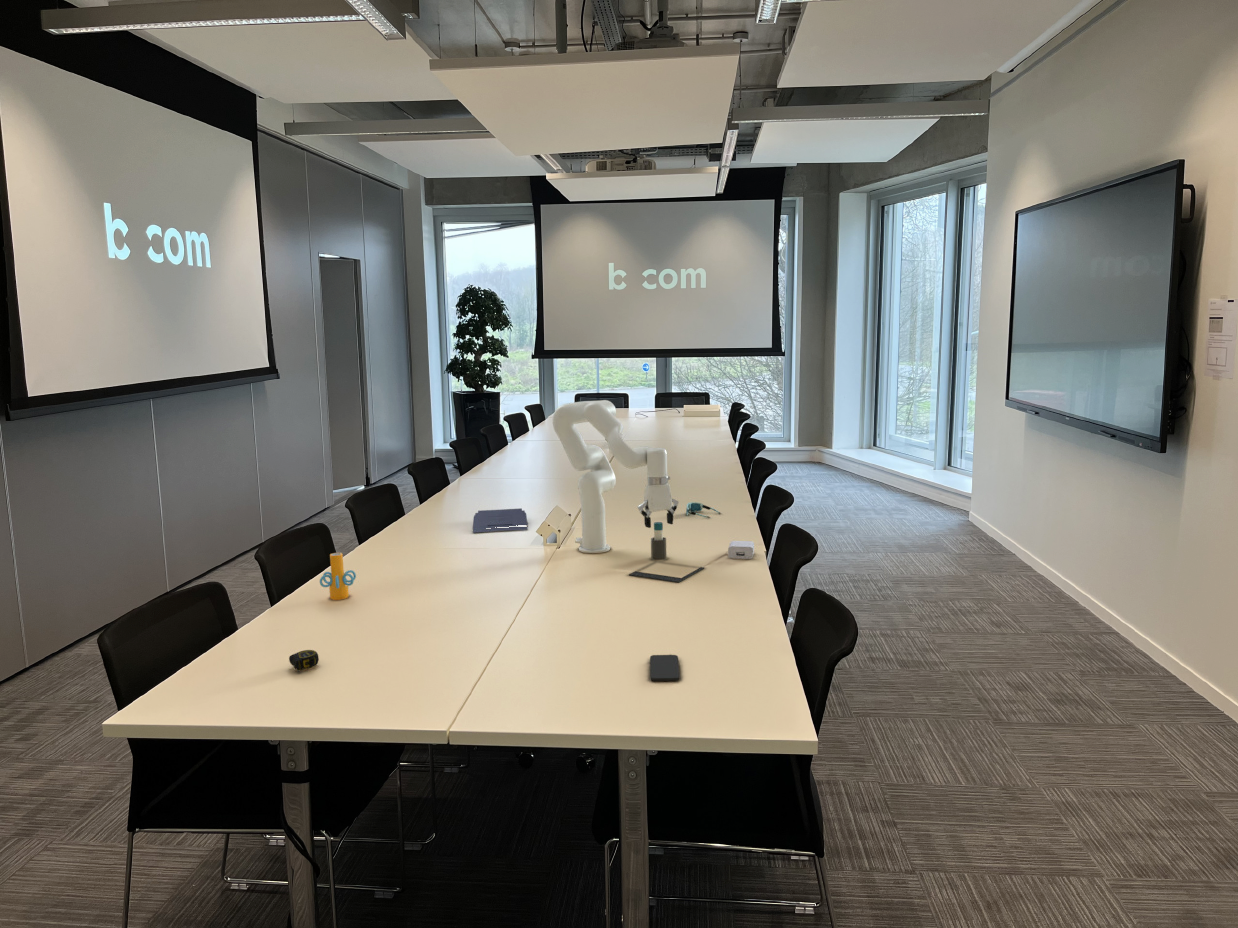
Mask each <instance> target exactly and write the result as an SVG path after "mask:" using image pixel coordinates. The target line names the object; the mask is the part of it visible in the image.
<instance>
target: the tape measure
mask: <svg viewBox="0 0 1238 928" xmlns="http://www.w3.org/2000/svg"><path fill="white" fill-rule="evenodd" d="M319 657H320V656H319V653H318V652H317V651H316V650H314V649H304V650H300V651H298V652H296V653H293V654H291V655H289V656H288V659H289V660H288V662H289V663H290V665H291V666H292V667H294V669H295V670H297V671H298V672H300V671H302V670H308V669H311V668H314V667H316V666H317V665H318V664H319V661H320V658H319Z"/></svg>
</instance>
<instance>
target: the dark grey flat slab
mask: <svg viewBox="0 0 1238 928" xmlns="http://www.w3.org/2000/svg"><path fill="white" fill-rule="evenodd" d="M516 525H517V526H518V525H528V517H527V512H526V511H525V510H523V508H522V507H521V508H506V509H505V508H504V509H503V508H501V509H484V510H478V511H477V512H475V514H474V515H473V521H472V533H473V534H474V533H483V532H484V533H486V532H488V533H489V532H501V531H502V532H503V531H524V530H525V531H526V530H528V527H529V525H528V526H527V527H509V526H516ZM495 527H496V528H495ZM497 527H509V528H497ZM486 528H491V529H486Z"/></svg>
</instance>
